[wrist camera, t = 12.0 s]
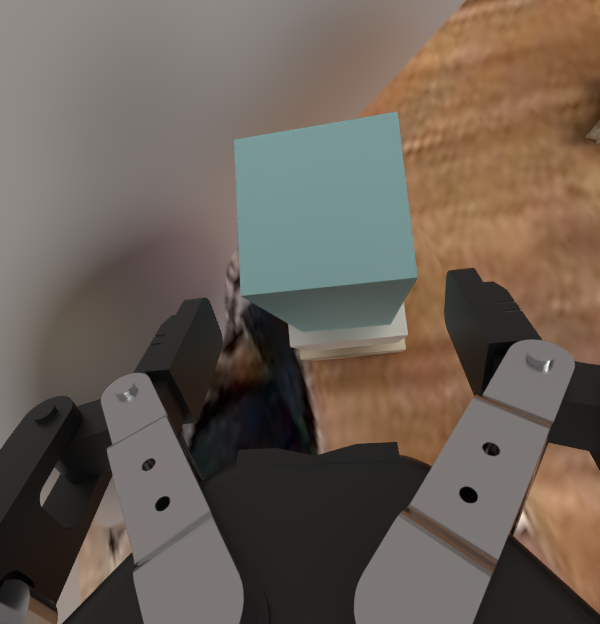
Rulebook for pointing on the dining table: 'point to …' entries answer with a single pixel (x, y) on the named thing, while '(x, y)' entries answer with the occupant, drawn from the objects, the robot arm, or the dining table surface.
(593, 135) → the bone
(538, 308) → the dining table surface
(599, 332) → the dining table surface
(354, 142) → the teal block
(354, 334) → the cream block
